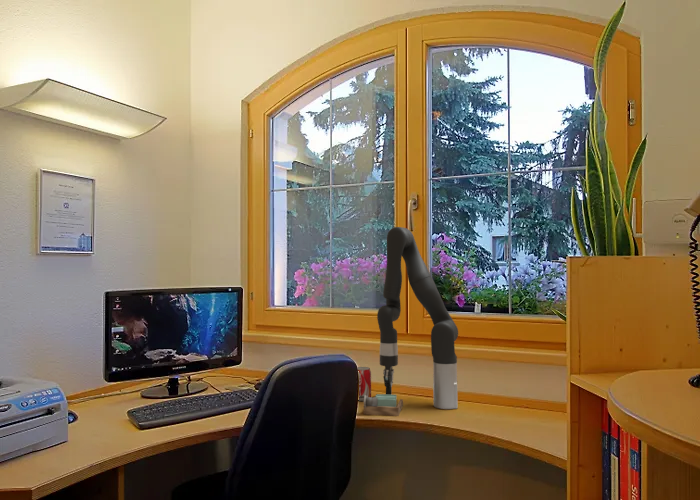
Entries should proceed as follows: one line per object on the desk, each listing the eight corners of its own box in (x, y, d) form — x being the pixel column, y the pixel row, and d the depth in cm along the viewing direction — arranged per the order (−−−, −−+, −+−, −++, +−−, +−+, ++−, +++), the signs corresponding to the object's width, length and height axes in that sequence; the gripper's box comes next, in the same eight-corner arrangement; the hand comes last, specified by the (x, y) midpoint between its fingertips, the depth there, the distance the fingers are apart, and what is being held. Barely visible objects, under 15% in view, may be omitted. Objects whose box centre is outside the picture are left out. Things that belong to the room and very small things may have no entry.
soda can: (351, 401, 224) (351, 369, 224) (356, 397, 231) (356, 366, 231) (368, 402, 222) (368, 370, 222) (373, 398, 229) (372, 366, 229)
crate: (396, 404, 219) (396, 393, 219) (395, 410, 211) (395, 398, 211) (376, 404, 220) (376, 393, 220) (374, 409, 212) (374, 398, 212)
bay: (402, 405, 216) (402, 388, 216) (397, 417, 200) (397, 398, 200) (366, 404, 219) (366, 386, 219) (358, 415, 203) (358, 396, 203)
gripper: (395, 356, 218) (395, 400, 218) (399, 351, 231) (399, 392, 231) (377, 355, 220) (377, 399, 219) (382, 350, 233) (382, 391, 232)
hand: (388, 395), depth 225 cm, fingers closed
